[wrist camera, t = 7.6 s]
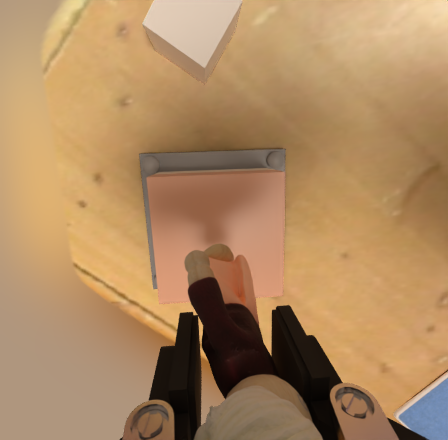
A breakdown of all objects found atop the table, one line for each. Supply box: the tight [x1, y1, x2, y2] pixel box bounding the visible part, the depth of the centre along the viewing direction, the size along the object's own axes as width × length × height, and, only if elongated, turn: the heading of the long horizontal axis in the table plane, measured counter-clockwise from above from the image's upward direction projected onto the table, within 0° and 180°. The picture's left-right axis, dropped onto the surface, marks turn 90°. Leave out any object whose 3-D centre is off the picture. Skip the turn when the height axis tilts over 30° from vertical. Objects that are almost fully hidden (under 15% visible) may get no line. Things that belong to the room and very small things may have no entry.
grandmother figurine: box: [184, 243, 323, 440], centre depth 11 cm, size 8×4×13 cm, turn 33°
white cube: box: [142, 0, 242, 85], centre depth 25 cm, size 6×6×6 cm
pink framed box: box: [139, 149, 286, 304], centre depth 29 cm, size 16×16×8 cm
